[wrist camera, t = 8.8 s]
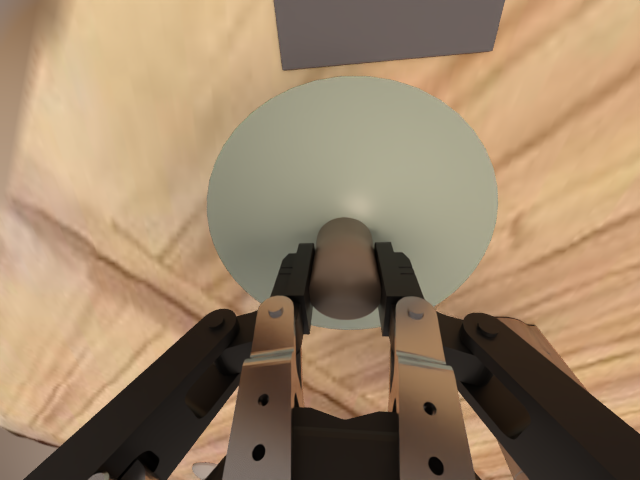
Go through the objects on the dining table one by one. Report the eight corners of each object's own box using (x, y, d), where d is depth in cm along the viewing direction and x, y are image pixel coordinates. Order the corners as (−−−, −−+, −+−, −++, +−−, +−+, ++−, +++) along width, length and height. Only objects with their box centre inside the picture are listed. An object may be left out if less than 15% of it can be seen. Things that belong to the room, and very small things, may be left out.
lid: (542, 59, 9) (700, 41, 5) (452, 322, 17) (485, 395, 13) (169, 90, 11) (64, 96, 7) (247, 318, 19) (222, 383, 15)
